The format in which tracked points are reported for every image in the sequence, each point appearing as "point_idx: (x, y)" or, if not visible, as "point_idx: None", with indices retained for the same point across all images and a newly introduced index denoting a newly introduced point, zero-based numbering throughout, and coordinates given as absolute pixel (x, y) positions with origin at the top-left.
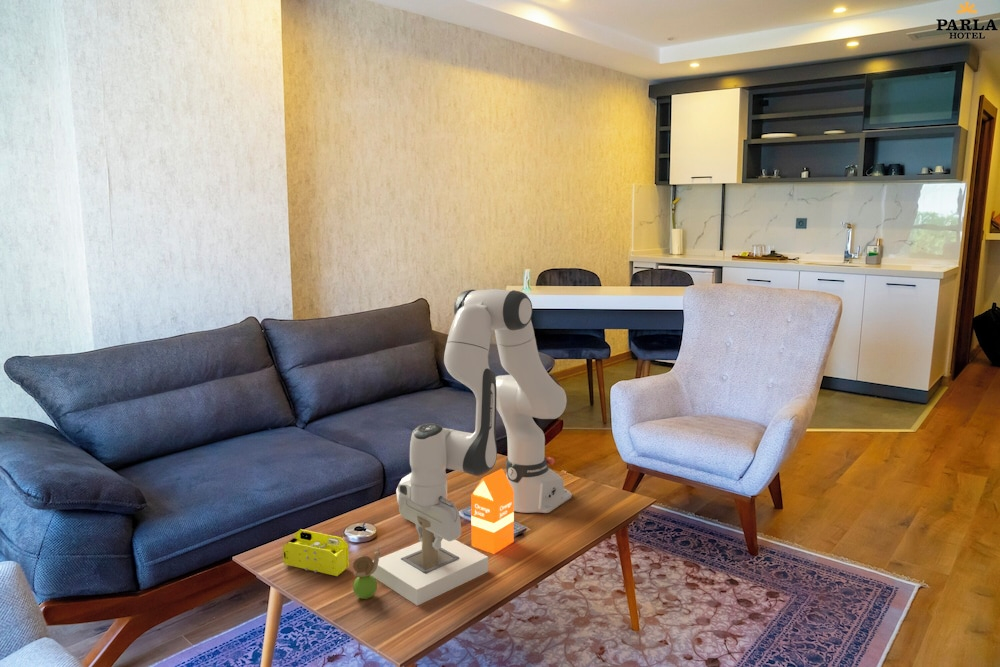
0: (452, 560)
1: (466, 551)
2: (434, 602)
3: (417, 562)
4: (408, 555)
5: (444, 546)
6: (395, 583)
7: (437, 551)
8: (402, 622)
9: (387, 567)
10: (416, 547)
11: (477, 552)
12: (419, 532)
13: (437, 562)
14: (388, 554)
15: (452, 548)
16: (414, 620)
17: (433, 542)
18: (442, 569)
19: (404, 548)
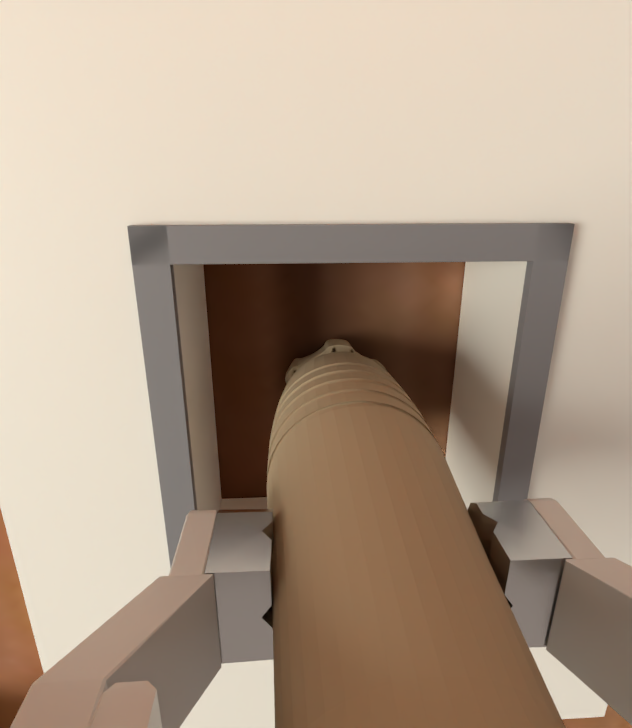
0: (558, 322)
1: (525, 33)
2: None
3: (205, 434)
4: (173, 552)
5: (229, 155)
6: None
7: (435, 442)
8: (587, 719)
9: (223, 717)
10: (56, 403)
11: None
12: (188, 708)
13: (398, 384)
14: (34, 634)
15: (338, 115)
16: None
17: (537, 645)
18: (569, 466)
19: (6, 494)
